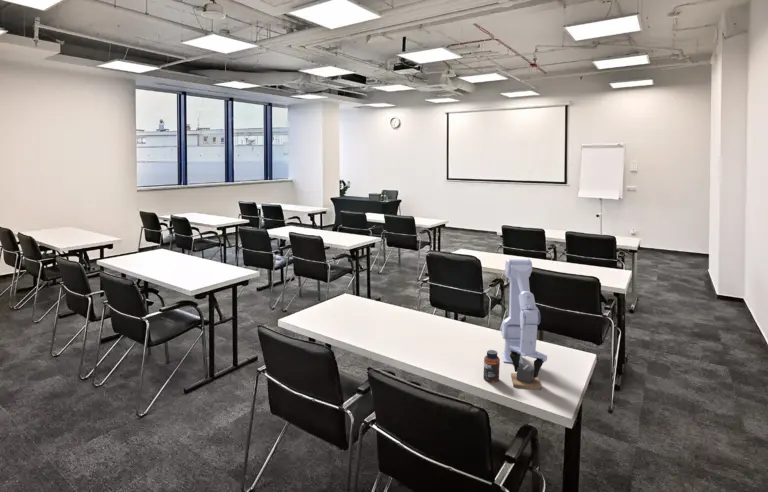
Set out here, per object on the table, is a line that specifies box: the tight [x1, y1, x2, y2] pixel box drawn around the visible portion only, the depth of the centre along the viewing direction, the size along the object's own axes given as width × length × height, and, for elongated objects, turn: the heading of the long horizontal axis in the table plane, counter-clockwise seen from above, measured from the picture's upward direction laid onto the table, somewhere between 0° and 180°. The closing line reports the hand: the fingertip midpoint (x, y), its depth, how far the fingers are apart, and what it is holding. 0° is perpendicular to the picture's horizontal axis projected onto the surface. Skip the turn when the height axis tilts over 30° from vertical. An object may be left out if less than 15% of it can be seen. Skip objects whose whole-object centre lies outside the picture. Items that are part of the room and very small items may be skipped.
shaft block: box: [510, 372, 542, 390], centre depth 180 cm, size 10×10×4 cm
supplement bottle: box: [483, 349, 501, 383], centre depth 181 cm, size 6×6×11 cm
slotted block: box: [516, 363, 535, 384], centre depth 179 cm, size 5×5×6 cm
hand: (526, 373), depth 179 cm, fingers open, 7 cm apart
